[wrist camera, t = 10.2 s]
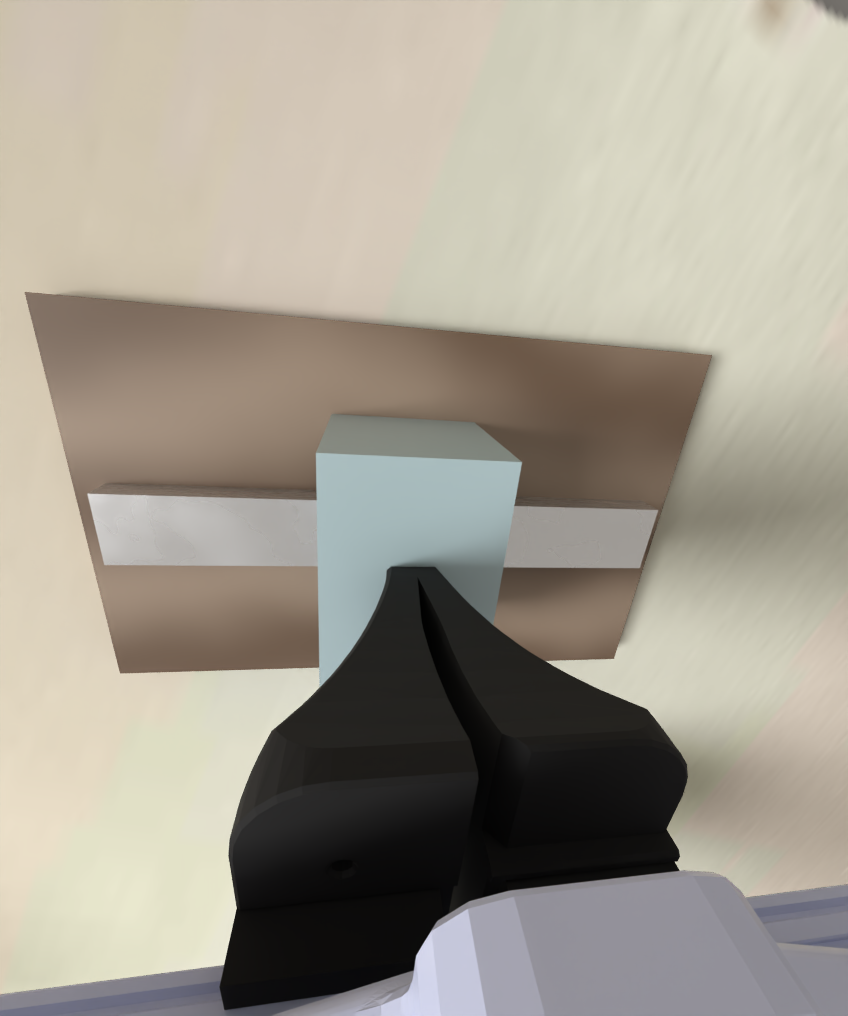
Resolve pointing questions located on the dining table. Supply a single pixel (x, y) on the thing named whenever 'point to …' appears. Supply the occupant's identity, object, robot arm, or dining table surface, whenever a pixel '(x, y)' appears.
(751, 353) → the dining table surface
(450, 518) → the module
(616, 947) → the robot arm
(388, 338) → the rail board
